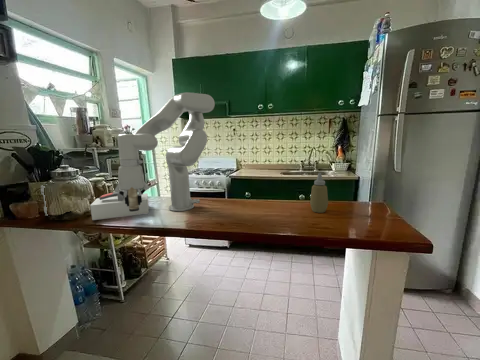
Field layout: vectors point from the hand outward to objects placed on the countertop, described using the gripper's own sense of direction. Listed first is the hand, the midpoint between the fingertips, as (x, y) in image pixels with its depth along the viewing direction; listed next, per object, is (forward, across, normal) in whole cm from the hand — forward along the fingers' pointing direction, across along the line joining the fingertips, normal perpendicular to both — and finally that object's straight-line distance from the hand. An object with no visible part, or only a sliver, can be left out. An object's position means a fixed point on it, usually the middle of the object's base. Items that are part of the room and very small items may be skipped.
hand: (133, 204), depth 107 cm
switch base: (+7, +7, -16) cm, 19 cm away
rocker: (-3, +7, -16) cm, 18 cm away
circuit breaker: (+8, +35, -27) cm, 45 cm away
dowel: (+2, 0, 0) cm, 3 cm away
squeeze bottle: (+7, -80, +23) cm, 84 cm away
